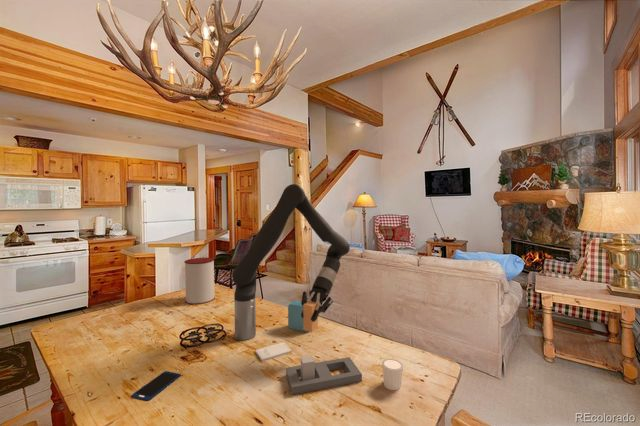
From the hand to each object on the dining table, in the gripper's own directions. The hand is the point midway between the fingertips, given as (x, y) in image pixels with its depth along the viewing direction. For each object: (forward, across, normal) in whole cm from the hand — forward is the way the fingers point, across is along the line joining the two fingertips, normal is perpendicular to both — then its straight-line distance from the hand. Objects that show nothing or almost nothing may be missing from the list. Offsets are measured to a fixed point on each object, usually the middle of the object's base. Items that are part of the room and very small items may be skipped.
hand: (307, 319), depth 108 cm
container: (-1, -97, +25) cm, 100 cm away
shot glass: (+9, +32, +14) cm, 36 cm away
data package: (-3, -19, +26) cm, 33 cm away
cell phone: (+40, -33, -16) cm, 54 cm away
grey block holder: (+15, +11, +7) cm, 20 cm away
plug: (+2, 0, +5) cm, 5 cm away
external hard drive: (+14, -15, +10) cm, 23 cm away
